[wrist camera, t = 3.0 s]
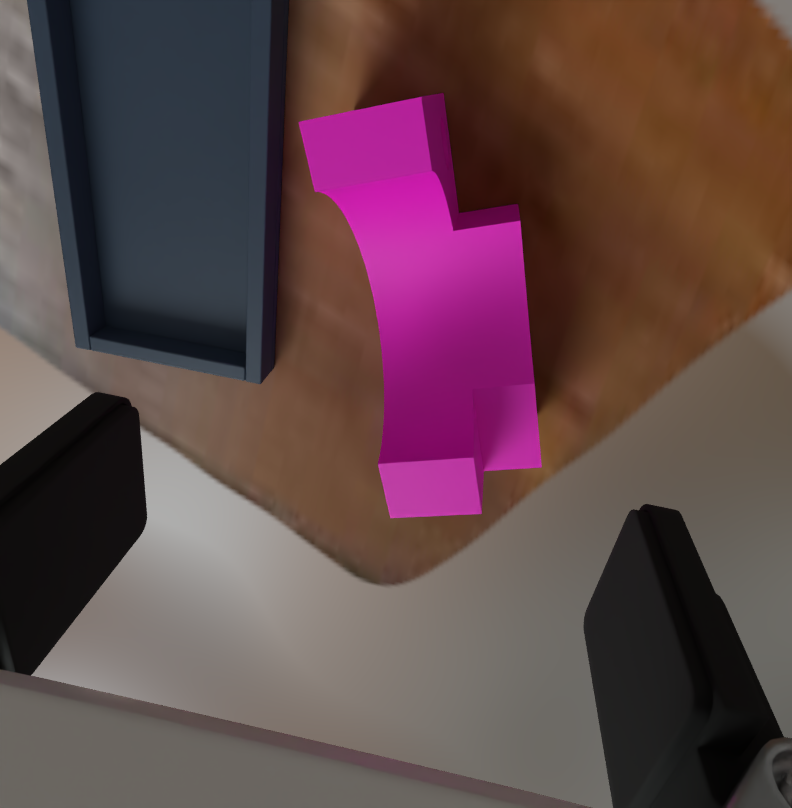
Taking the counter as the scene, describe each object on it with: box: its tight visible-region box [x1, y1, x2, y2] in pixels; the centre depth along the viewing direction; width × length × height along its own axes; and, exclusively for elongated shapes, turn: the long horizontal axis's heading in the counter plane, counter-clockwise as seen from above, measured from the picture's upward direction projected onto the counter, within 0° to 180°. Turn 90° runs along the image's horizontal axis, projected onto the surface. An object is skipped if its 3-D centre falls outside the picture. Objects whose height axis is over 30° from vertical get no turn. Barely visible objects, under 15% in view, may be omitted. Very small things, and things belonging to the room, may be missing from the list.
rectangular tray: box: [27, 0, 289, 384], centre depth 26 cm, size 10×19×2 cm, turn 172°
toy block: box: [299, 93, 542, 518], centre depth 24 cm, size 15×6×8 cm, turn 11°
